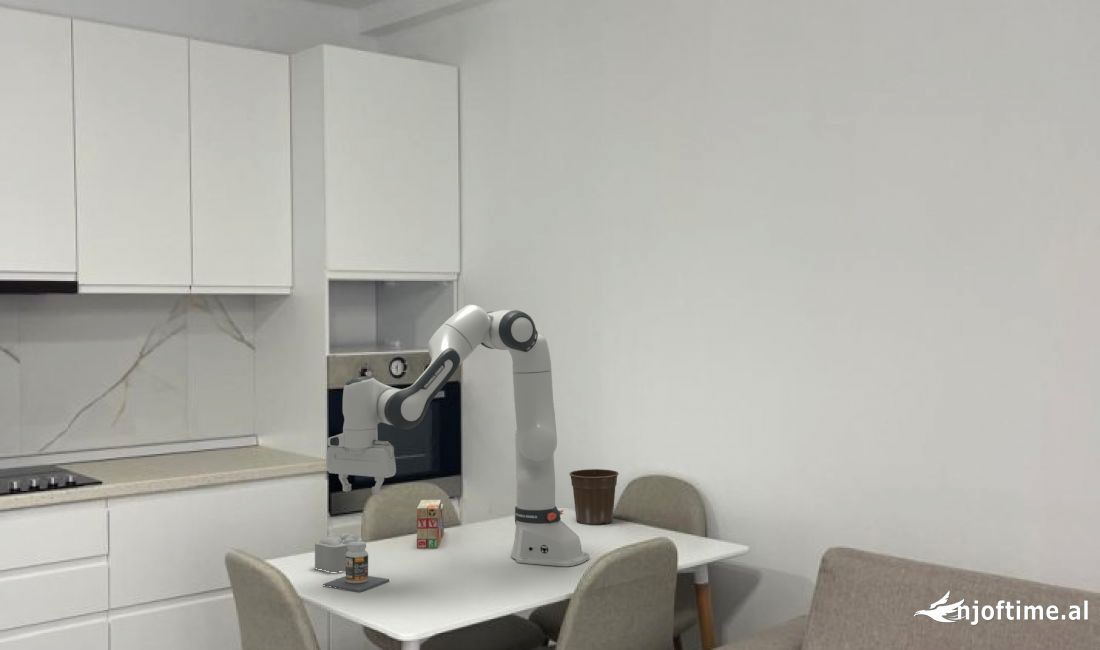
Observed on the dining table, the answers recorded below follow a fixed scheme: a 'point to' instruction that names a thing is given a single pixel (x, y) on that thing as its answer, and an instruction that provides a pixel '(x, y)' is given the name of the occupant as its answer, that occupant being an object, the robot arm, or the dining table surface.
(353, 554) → the pill bottle
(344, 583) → the coaster
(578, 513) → the plant pot
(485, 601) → the dining table surface
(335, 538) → the lumpy-topped squat cylinder
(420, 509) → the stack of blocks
